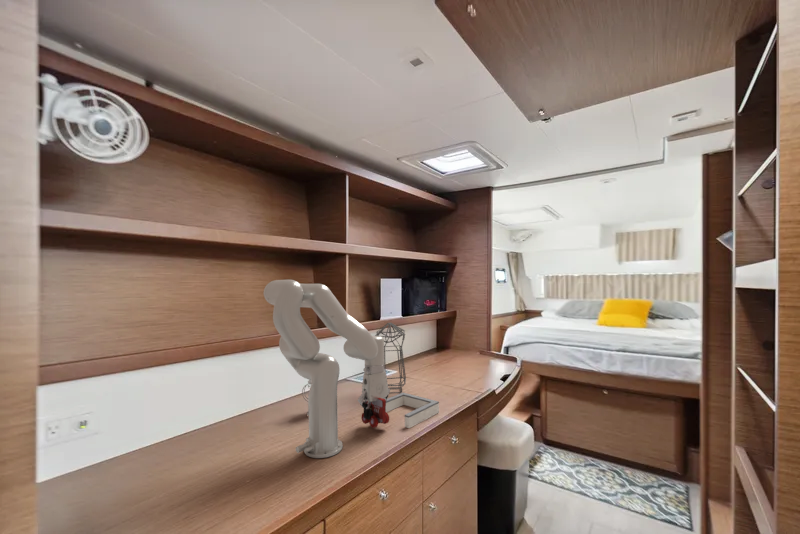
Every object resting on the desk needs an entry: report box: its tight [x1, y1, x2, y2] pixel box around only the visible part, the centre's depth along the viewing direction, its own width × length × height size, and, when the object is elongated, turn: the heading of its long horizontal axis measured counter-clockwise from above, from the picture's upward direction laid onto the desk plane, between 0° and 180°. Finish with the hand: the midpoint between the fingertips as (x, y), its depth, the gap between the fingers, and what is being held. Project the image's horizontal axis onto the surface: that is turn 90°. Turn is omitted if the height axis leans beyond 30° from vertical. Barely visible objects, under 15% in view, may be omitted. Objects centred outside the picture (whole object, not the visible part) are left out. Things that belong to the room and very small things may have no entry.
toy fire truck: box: [360, 398, 390, 428], centre depth 132 cm, size 7×12×10 cm, turn 41°
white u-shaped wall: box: [386, 392, 440, 429], centre depth 146 cm, size 20×20×5 cm
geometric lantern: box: [374, 322, 407, 394], centre depth 178 cm, size 16×16×35 cm
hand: (374, 415), depth 132 cm, fingers closed on toy fire truck, 7 cm apart
